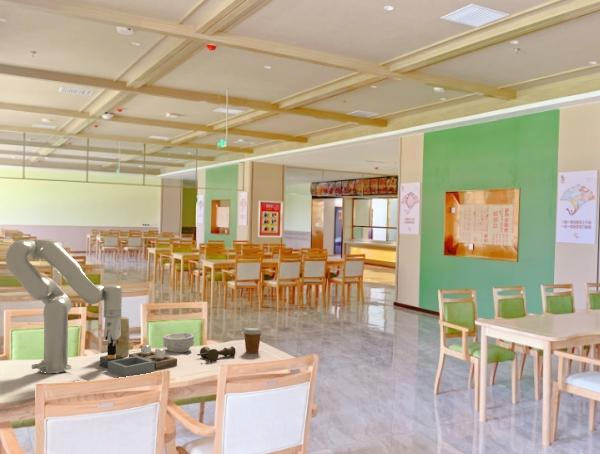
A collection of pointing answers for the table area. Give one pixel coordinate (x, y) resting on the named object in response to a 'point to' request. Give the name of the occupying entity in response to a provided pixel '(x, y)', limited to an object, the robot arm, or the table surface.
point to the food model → (123, 338)
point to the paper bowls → (178, 342)
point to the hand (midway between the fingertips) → (111, 354)
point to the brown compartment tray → (158, 364)
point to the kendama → (216, 353)
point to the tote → (131, 366)
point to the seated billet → (145, 350)
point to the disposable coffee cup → (252, 339)
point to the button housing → (105, 360)
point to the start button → (111, 356)
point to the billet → (159, 354)
